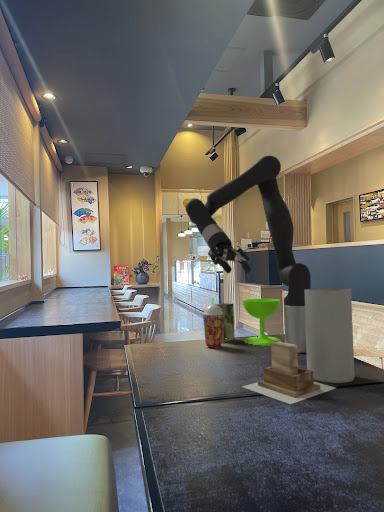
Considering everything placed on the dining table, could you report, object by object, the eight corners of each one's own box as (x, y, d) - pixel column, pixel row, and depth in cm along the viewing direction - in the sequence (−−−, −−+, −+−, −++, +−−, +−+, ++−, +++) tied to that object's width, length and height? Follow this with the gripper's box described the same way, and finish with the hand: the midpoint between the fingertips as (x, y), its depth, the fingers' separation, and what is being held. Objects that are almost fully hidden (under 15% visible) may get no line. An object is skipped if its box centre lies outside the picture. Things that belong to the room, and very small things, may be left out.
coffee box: (222, 338, 166) (222, 303, 167) (235, 339, 162) (234, 303, 163) (211, 341, 159) (210, 304, 160) (224, 342, 155) (223, 305, 156)
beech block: (280, 378, 98) (279, 341, 98) (298, 384, 93) (297, 345, 93) (272, 381, 96) (271, 343, 96) (290, 386, 91) (288, 346, 91)
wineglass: (253, 347, 145) (252, 302, 146) (237, 340, 160) (236, 299, 161) (288, 344, 150) (287, 300, 150) (270, 337, 165) (268, 298, 166)
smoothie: (200, 346, 149) (199, 297, 150) (217, 344, 153) (216, 296, 153) (209, 349, 142) (208, 298, 142) (227, 347, 145) (226, 297, 146)
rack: (283, 378, 101) (282, 362, 101) (320, 389, 92) (319, 371, 92) (257, 385, 96) (257, 368, 96) (294, 397, 86) (294, 378, 86)
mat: (286, 375, 105) (286, 374, 105) (336, 389, 92) (336, 387, 92) (241, 388, 95) (241, 386, 95) (290, 405, 82) (290, 404, 82)
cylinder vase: (359, 385, 95) (355, 290, 96) (310, 383, 97) (307, 291, 98) (349, 372, 107) (345, 288, 108) (305, 370, 110) (302, 288, 111)
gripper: (205, 230, 121) (228, 263, 111) (236, 232, 129) (260, 263, 120) (196, 246, 125) (217, 280, 115) (227, 247, 134) (249, 278, 124)
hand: (239, 271), depth 118 cm, fingers open, 8 cm apart
